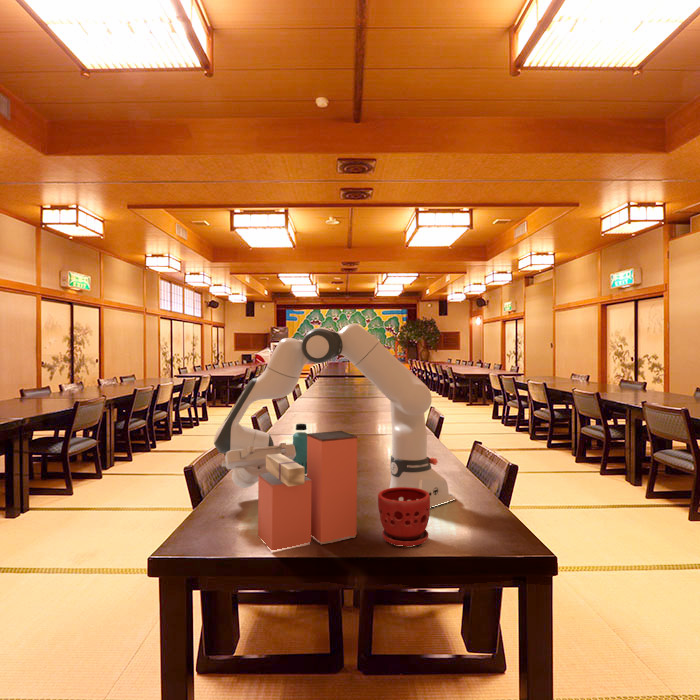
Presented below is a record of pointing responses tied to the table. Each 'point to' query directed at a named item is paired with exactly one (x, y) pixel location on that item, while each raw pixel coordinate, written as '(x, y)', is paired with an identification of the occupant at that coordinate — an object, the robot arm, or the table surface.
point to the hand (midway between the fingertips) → (267, 447)
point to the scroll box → (285, 469)
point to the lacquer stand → (312, 495)
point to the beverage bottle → (300, 446)
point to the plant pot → (404, 515)
